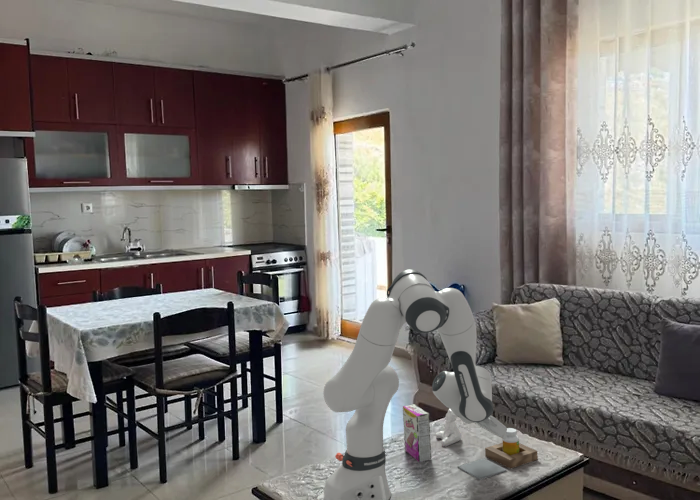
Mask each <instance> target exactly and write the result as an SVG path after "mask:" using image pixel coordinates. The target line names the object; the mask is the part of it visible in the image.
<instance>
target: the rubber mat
mask: <svg viewBox="0 0 700 500" xmlns="http://www.w3.org/2000/svg"><path fill="white" fill-rule="evenodd" d="M457 468H458V470H461V471H463V472H464V473H466V474H468V475H470V476H472V477H474V478H475V479H477V480H479V481H482V480H483V479H484V480H485V479H487V478H490V477H494V476H496V475H499V474H502V473H505V472H507V470H508V469H506V468H504V467H502V465H501V466H500V465H498V464H496V462H494V461H491V460H490V459H489V460H488V459H486V457H483V458H480V459H476V460H473V461H470V462H468V463H464V464H460V465H458V466H457Z"/></svg>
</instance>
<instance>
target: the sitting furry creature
mask: <svg viewBox="0 0 700 500" xmlns="http://www.w3.org/2000/svg"><path fill="white" fill-rule="evenodd" d="M458 418H459V417H458V416H456V415H455V414H454V413H453V411H452V410H451V409H450V408H448V410H447V413H446V414H445V418H444V419H445V423H444V425H443V427H444V428H443V430H441V431H437V432H436V433H435V438H436V439H439V440H441V446H442V447H447V446H452V445H453V444H456V443H458V442H459V441H460V440H461V439H462V435H463V434H462V432H461V430H460V428H459V427H458V425H457V422H456V420H457V419H458Z"/></svg>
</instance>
